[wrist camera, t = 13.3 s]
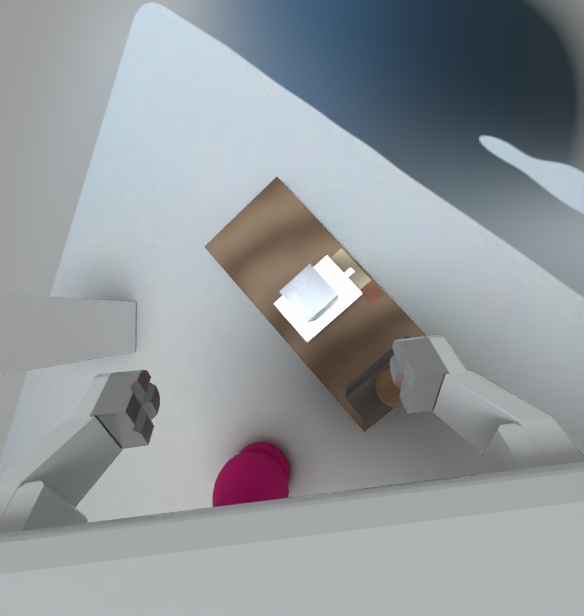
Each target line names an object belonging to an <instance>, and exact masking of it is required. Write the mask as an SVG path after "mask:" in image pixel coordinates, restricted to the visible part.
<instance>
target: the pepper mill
mask: <svg viewBox="0 0 584 616" xmlns="http://www.w3.org/2000/svg"><path fill="white" fill-rule="evenodd" d="M289 479H290V468H289V463H288V461H287V459H286V457H285V456H284V454H283V453H282V452H281V451H280V450H279V449H278V448H277V447H275V446H273V445H271V444H269V443H264V442H257V443H253V444H250V445H248V446H247V447H245V448H244V449H243V450H242V451H241V452H240V454H239V455H236V456H235V457H233V458H232V459H230V460H229V461H228V462H227V463H226V464H225V466H224V467H223V468H222V470H221V471H220V473H219V475H218V477H217V479H216V482H215V486H214V490H213V507H219V506H227V505H235V504H243V503H251V502H259V501H267V500H275V499H283V498H288V493H289V491H288V483H289Z"/></svg>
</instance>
